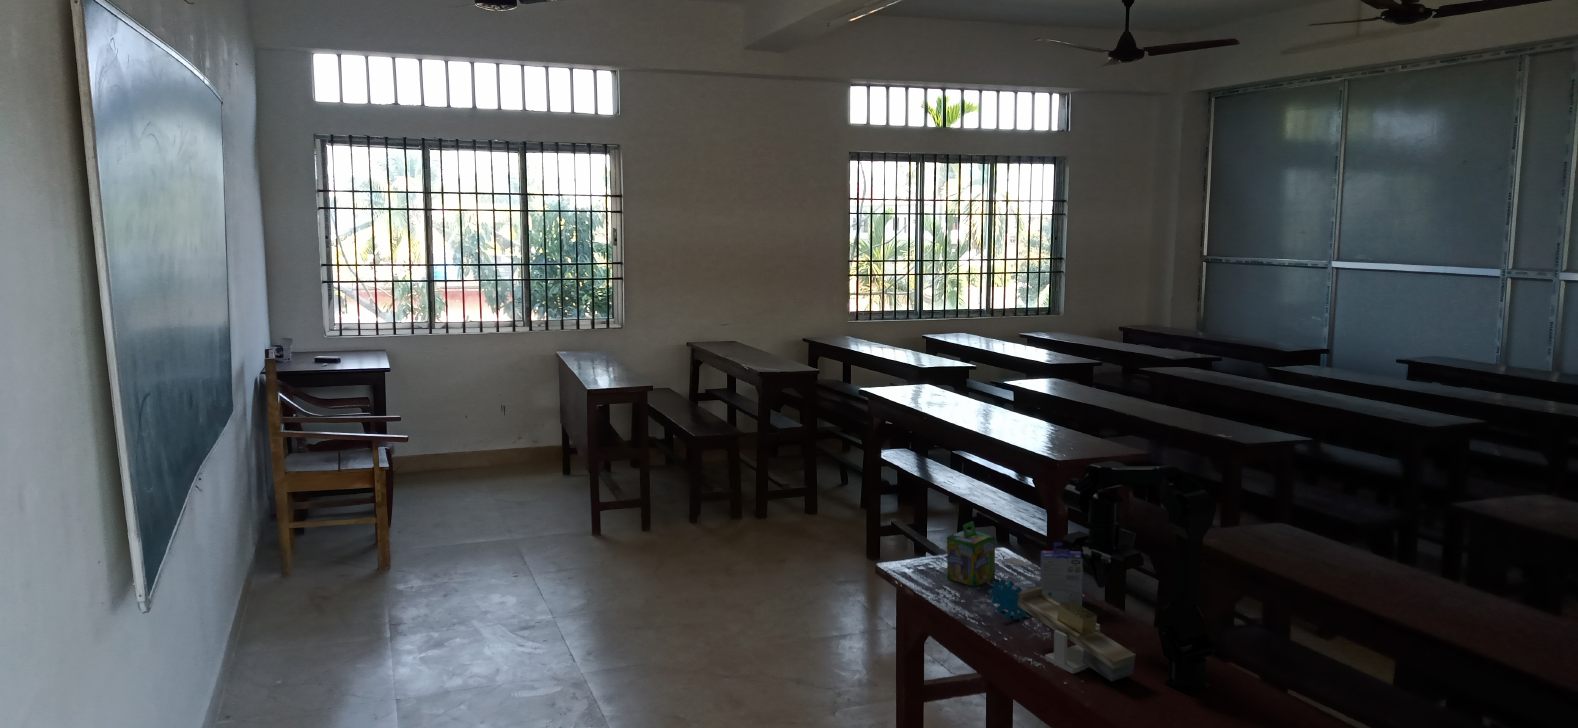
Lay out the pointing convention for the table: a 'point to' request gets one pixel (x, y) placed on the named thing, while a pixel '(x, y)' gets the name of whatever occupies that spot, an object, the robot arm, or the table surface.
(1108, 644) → the seesaw beam
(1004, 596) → the gear
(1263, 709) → the table surface
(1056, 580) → the ink cartridge box
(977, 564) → the chalk box
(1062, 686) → the table surface
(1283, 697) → the table surface
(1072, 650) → the pivot stand
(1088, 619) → the beige rectangular block
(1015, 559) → the table surface
